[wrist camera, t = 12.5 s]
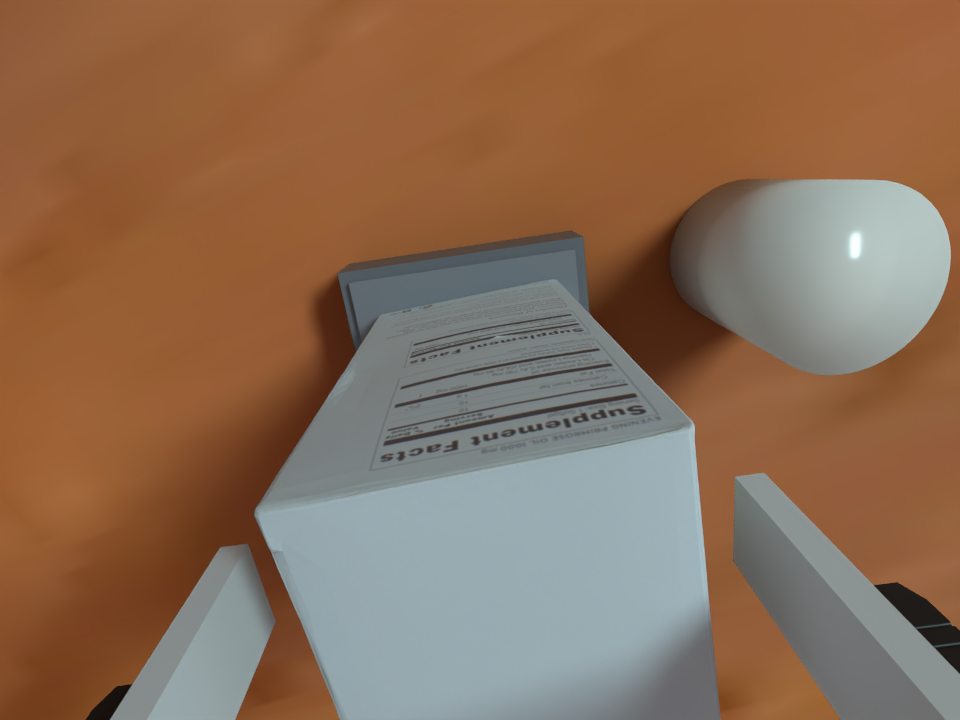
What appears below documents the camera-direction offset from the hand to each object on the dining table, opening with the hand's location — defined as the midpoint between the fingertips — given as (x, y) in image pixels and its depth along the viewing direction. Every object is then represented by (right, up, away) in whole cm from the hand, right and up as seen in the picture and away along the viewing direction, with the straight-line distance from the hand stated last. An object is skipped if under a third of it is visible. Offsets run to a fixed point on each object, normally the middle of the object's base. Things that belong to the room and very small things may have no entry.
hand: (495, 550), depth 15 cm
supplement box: (0, +4, +13) cm, 14 cm away
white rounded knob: (+14, +11, +15) cm, 23 cm away
